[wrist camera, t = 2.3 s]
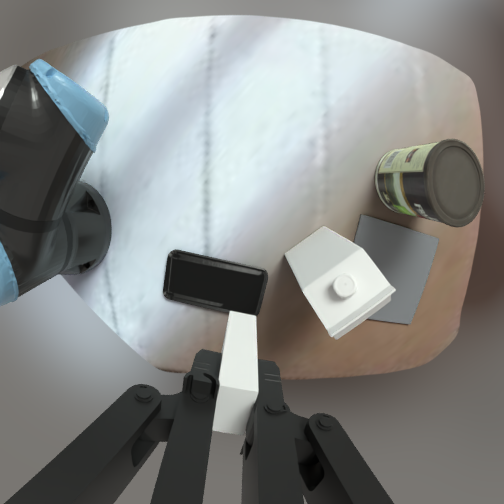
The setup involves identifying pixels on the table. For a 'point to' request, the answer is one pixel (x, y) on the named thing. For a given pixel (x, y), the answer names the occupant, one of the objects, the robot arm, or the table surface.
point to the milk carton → (338, 280)
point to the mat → (397, 264)
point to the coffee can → (432, 182)
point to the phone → (214, 283)
